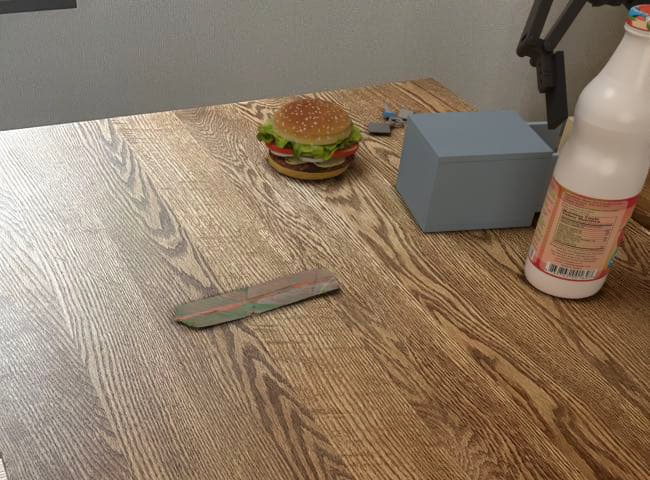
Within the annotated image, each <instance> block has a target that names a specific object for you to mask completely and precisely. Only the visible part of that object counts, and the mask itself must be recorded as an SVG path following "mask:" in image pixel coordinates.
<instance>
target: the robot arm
mask: <svg viewBox="0 0 650 480" xmlns="http://www.w3.org/2000/svg"><path fill="white" fill-rule="evenodd" d="M553 3H554V0H533V3H532V6H531V8H530V11H529V14H528V16H527V18H526V22H525V25H524V28H523V30H522V33H521V35H520V37H519V41H518V44H517V46H516V48H515V53H516V55H517V57H519V58H525V57H528V58H529V65H530V66H531V67H532V68H536V69H535V70H536V83H537V84H536V85H537V90H538V93H539V94H544V95H545V108H546V109H545V111H546V121H547V125H548V130H555V129H556V128H557V127H558V126H559V125H560V124H562V125H563V123H564V122H565V121H567V119H568V117H569V109H568V108H569V107H568V93H567V79H566V78H567V77H566V65H565V51H564V50H556V51H554V50H555V49H556V48H557V47H558V45H559V43H561V40H562V39H563V37H564V36H565V35H566V33H567V32H568V30H569V29H570V27H571V26H572V25H573V22H574V21H575V20H576V18H577V16H578V15H579V14H580V13H581V11H582V10H583V8H584V6H585V5H586V3H589V4H591V7H592V8H599V7H603V6H611V7H620V6H622V5H623V6H624V7H625V8H626V10H627V11H628V12H629V11H630V9H631V8H632V7H634V6H637V5H650V0H568V2H567V3H566V5H565V7H564V8H563V10H562V11H561V13H560V15H559V16H558V17H557V19H556V20H555V22H554V23H553V25H552V26H551V28H550V29H549V31H548V32H547V34H546V35H545V37H544V38H541V35H542V32H543V30H544V28H545V24H546V22H547V19H548V16H549V13H550V11H551V8H552V6H553Z"/></svg>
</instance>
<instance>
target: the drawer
mask: <svg viewBox="0 0 650 480" xmlns="http://www.w3.org/2000/svg"><path fill="white" fill-rule="evenodd" d="M573 119H574V115H573V116H568V118H567V119H566V122H565V125H564V128H563V131H562V132H563V133H562V135H561V138H560V141H559V144H558V149H557V151H556V150H555V149H556V146H557V143H558V140H559V137H560V133H561V130H562V126H563V123H562V124H560V125H559V126H558V127H557V128H556V129H555V130H548V125H547V120H545V121H525V122H526V123H527V124H528V125H529V126H530V127H531V128H532V129H533V130H534V131H535V132H536V133H537V134H538V135H539V137H540V138H541V139H542V140H543V141H544V142H545V143H546V144H547V145H548V146H549V147H550V148H551V149H552V150H553V155H552V159H551V162H550V165H549V168H548V172H547V175H546V178H545V181H544V185H543V188H542V191H541V194H540V198H539V201H538V204H537V207H536V211H535V213H541V210H542V207H543V204H544V201H545V198H546V195H547V191H548V188H549V185H550V182H551V179H552V175H553V172H554V168H555V165H556V162H557V160H558V157H559V154H560V152H561V150H562V147H563V146H564V144H565V142H566V141H567V140H568V139H569V137H570V136H571V134H572V131H573ZM555 151H556V152H555Z"/></svg>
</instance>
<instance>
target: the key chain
mask: <svg viewBox="0 0 650 480" xmlns="http://www.w3.org/2000/svg"><path fill="white" fill-rule="evenodd" d="M382 106H383V109H384V111H382V115H383V117H385V118H388V120H387V121H383V122H374V121H373V122H371V121H370V122H368V123H367V127H368V132H369V133H378V134H379V133H380V134H390V133H391V127H393V126H402V125H403V124H404V123H407V117H408V114H415V111H413V110H409V109H406V108H402V107H401V108H400V109H399V110H400V111H398V114H396V113H395V112H393V110H392V108H391V107H390V105H388V104H387V103H383V104H382Z"/></svg>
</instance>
